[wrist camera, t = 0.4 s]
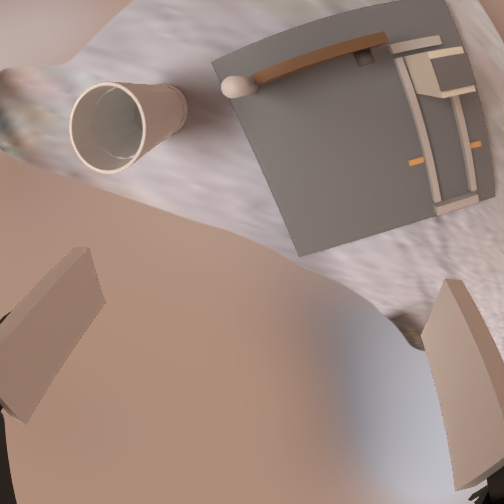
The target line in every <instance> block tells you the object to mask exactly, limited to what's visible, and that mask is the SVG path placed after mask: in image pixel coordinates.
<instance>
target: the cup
mask: <svg viewBox="0 0 504 504" xmlns="http://www.w3.org/2000/svg"><path fill="white" fill-rule="evenodd" d="M187 115H188V104H187V101H186V98H185V96H184V95H183V93H182V92H181V91H180V90H179V89H177V88H176V87H174V86H172V85H168V84H159V85H147V84H132V83H122V82H101V83H98V84H95V85H93V86H91V87H89V88H88V89H86V90H85V91H84V92H83V93H82V94H81V95H80V96H79V98H78V99H77V101H76V103H75V105H74V107H73V109H72V112H71V116H70V124H69V130H70V138H71V142H72V145H73V148H74V150H75V152H76V154H77V155H78V157H79V158H80V159H81V160H82V162H83V163H84V164H86V165H87V166H88V167H89V168H91V169H93V170H95V171H97V172H100V173H105V174H113V173H118V172H121V171H123V170H125V169H127V168H128V167H130V166H131V165H132V164H133V163H134V162H136V161H137V160H138V159H139V158H141V157H142V156H143V155H144V154H146V153H147V152H148V151H150V150H151V149H152V148H154V147H155V146H156V145H158V144H159V143H161V142H162V141H163V140H165V139H166V138H168V137H169V136H170V135H172V134H174V133H176V132H177V131H179V130H180V129H181V128H182V126H183V125H184V123H185V121H186V119H187Z"/></svg>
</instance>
